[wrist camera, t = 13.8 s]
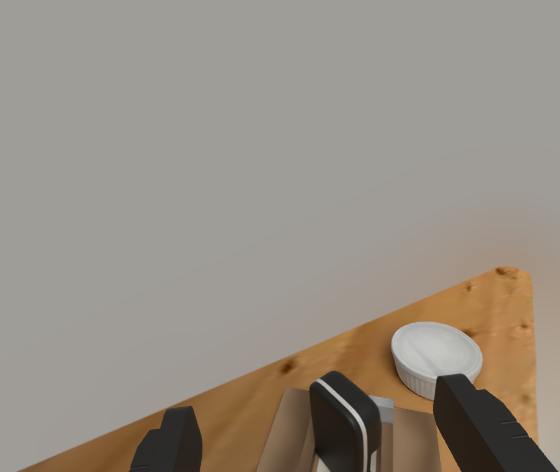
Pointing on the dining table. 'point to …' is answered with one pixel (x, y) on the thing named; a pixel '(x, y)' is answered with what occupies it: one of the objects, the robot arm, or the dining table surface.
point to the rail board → (384, 461)
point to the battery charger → (344, 423)
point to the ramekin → (433, 355)
